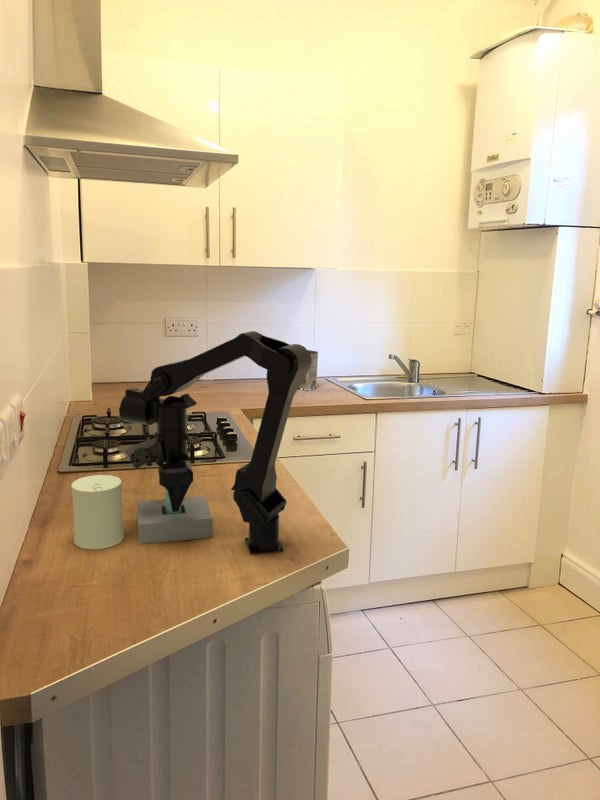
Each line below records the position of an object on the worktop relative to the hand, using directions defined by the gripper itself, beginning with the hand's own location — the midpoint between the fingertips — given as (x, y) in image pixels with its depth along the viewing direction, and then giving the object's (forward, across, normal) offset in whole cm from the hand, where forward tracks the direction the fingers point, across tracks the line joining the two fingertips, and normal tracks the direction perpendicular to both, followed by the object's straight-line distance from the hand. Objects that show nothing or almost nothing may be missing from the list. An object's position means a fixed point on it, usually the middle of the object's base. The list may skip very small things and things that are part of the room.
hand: (173, 502), depth 129 cm
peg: (+6, 0, 0) cm, 6 cm away
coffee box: (+6, -131, +64) cm, 146 cm away
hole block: (+6, 0, 0) cm, 6 cm away
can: (+6, +2, -14) cm, 16 cm away
